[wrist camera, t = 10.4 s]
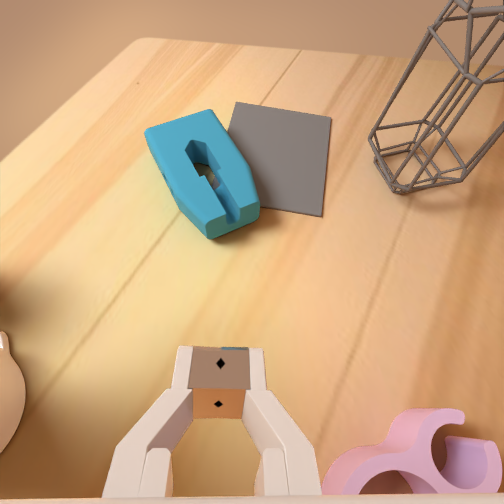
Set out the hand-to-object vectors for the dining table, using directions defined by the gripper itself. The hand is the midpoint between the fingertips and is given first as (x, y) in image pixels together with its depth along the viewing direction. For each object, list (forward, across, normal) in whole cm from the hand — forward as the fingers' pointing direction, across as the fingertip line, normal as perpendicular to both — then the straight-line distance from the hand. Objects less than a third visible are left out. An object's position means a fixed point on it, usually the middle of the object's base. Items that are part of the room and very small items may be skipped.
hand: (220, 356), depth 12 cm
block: (+33, -1, +14) cm, 36 cm away
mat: (+48, -8, +9) cm, 49 cm away
